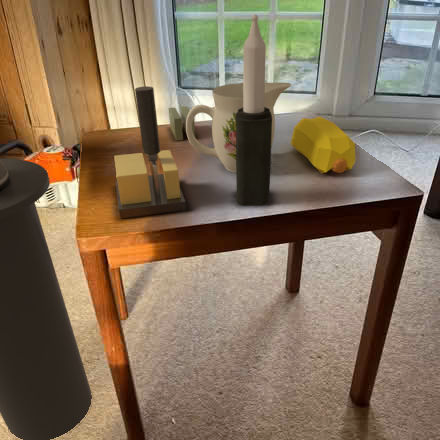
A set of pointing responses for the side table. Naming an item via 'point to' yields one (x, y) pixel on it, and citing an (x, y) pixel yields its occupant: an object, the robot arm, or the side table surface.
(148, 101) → the knife
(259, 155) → the candle
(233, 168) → the pitcher
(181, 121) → the knife stand
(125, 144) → the side table surface
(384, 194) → the side table surface
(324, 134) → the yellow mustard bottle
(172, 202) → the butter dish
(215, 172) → the side table surface
